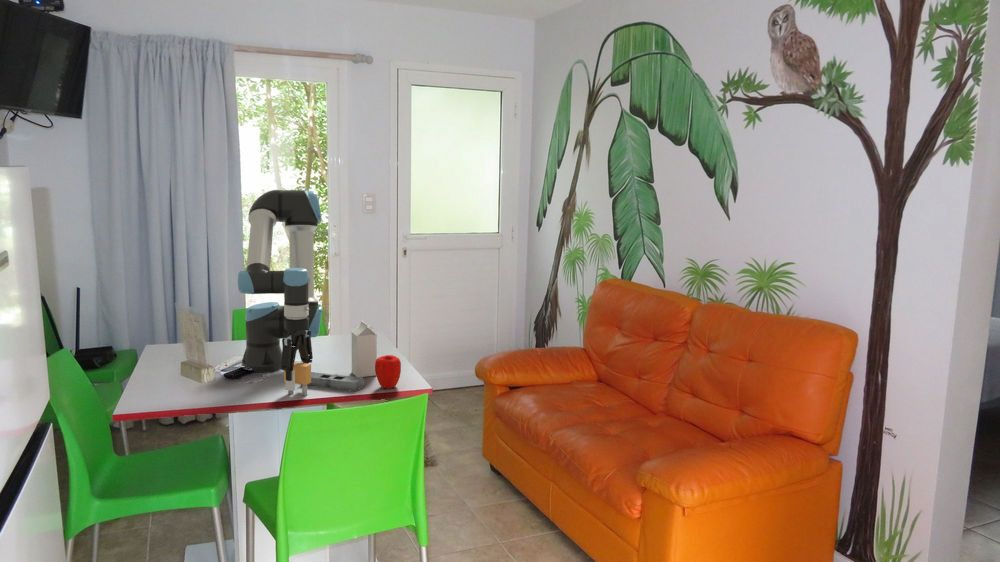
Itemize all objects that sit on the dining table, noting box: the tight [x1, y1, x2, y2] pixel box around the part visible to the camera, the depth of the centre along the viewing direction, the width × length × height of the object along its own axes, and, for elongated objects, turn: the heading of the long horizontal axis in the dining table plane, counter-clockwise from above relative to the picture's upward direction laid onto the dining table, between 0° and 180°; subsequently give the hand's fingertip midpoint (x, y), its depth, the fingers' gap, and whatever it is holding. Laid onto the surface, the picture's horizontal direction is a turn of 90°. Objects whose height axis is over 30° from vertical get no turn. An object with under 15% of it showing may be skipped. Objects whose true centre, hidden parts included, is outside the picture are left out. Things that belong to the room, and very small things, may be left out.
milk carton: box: [351, 320, 378, 378], centre depth 253 cm, size 7×7×19 cm
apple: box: [375, 354, 402, 389], centre depth 239 cm, size 9×9×11 cm
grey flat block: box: [300, 371, 365, 392], centre depth 240 cm, size 20×6×3 cm, turn 75°
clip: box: [283, 362, 312, 397], centre depth 229 cm, size 8×3×10 cm, turn 75°
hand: (297, 386), depth 229 cm, fingers open, 8 cm apart
